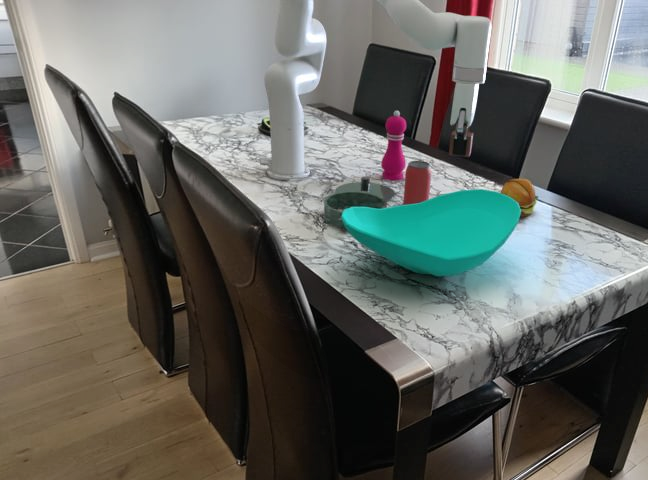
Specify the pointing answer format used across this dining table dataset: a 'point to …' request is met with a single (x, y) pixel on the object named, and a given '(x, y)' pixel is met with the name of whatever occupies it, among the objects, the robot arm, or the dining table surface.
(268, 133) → the salad plate
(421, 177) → the beer can
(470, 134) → the dark brown block
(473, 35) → the robot arm
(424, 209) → the table top decor
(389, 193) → the lid
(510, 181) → the cheeseburger
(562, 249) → the dining table surface
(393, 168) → the pepper mill
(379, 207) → the pot
